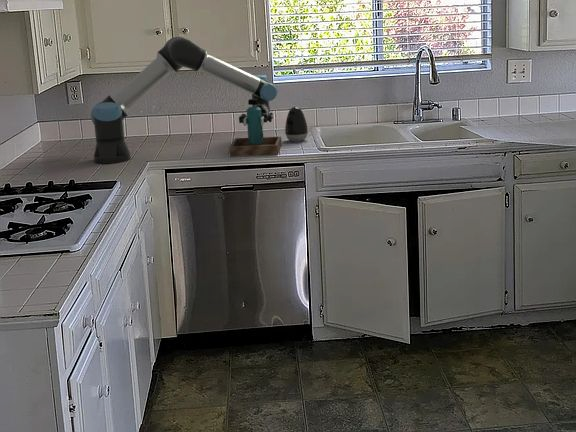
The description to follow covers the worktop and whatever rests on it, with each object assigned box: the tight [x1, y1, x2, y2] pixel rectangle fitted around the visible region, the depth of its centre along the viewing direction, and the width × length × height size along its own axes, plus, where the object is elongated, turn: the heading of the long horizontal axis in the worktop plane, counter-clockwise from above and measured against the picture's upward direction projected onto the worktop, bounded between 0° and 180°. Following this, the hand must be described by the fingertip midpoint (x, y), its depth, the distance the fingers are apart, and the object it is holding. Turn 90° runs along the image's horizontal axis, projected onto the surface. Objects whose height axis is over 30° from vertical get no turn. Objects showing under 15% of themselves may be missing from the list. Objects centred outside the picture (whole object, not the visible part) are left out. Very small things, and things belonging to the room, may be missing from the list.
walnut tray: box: [228, 136, 283, 158], centre depth 365 cm, size 20×20×4 cm
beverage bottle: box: [245, 98, 264, 144], centre depth 362 cm, size 6×7×20 cm
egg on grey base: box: [284, 106, 309, 143], centre depth 381 cm, size 10×10×15 cm
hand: (253, 122), depth 357 cm, fingers closed on beverage bottle, 6 cm apart
